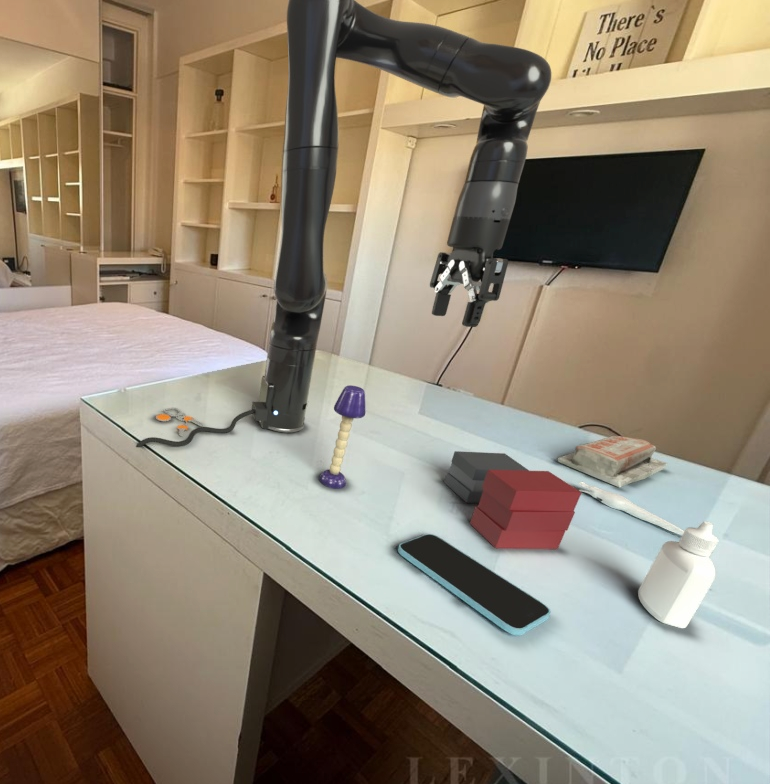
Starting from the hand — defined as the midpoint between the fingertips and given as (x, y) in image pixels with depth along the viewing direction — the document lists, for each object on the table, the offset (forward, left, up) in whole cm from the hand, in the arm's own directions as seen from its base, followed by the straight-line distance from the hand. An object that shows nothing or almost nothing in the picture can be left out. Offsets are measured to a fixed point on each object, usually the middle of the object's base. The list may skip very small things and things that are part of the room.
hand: (453, 320), depth 75 cm
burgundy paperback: (+2, -22, -20) cm, 30 cm away
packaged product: (+38, -1, -26) cm, 46 cm away
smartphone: (-11, -31, -26) cm, 42 cm away
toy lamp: (-19, -9, -26) cm, 34 cm away
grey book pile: (+5, -11, -26) cm, 29 cm away
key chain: (-44, +13, -26) cm, 52 cm away
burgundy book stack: (+2, -22, -26) cm, 34 cm away
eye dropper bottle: (+10, -35, -26) cm, 45 cm away
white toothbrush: (+26, -16, -26) cm, 40 cm away
